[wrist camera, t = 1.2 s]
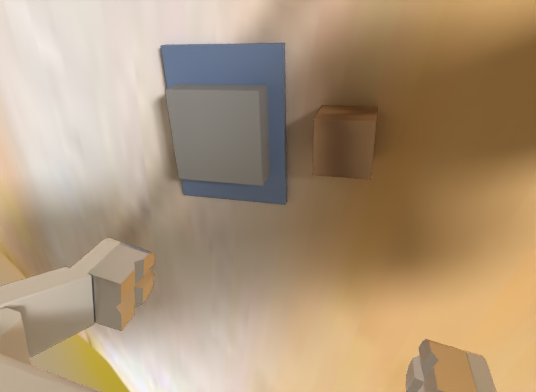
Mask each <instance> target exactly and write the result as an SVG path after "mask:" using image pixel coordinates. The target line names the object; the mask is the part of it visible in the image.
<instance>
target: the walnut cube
mask: <svg viewBox="0 0 536 392" xmlns="http://www.w3.org/2000/svg"><path fill="white" fill-rule="evenodd" d="M376 124H377V107H360V106H321V108H320V110H319V112H318V113H317V115H316V117H315V118H314V137H313V175H318V176H332V177H345V178H359V179H371V175H372V164H373V154H374V144H375V134H376Z"/></svg>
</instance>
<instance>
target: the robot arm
mask: <svg viewBox="0 0 536 392" xmlns="http://www.w3.org/2000/svg"><path fill="white" fill-rule="evenodd" d="M154 263H155V254H153V253H152V252H150V251H147V250H144V249H141V248H138V247H135V246H132V245H130V244H127V243H122V242H120V241H117V240H114V239H111V238H106V239H104V240H102V241H101V242H100V243H99V244H98V245H97V246H95V247H94V248H93V249H92V250H91V251H90V252H88V253H87V254H86V255H85V256H84V257H83V258H81V259H80V260H79V261H78V262H77V263H76V264H74V265H73V266H72V267H71V268H68V267H63V268H60V269H56V270H53V271H49V272H46V273H43V274H39V275H36V276H32V277H29V278H26V279H22V280H19V281H16V282H12V283H9V284H6V285H2V286H0V392H101V391H99V390H96V389H93V388H90V387H88V386H85V385H83V384H80V383H77V382H75V381H72V380H69V379H67V378H64V377H61V376H59V375H56V374H53V373H51V372H48V371H45V370H42V369H40V368H37V367H35V366H32V365H31V360H30V358H31V357H33V356H35V355H37V354H39V353H40V352H42V351H44V350H46V349H48V348H50V347H52V346H54V345H56V344H58V343H60V342H61V341H63V340H65V339H67V338H69V337H71V336H73V335H75V334H77V333H79V332H80V331H82V330H84V329H86V328H88V327H90V326H92V325H94V322H95V323H98V324H101V325H104V326H107V327H110V328H114V329H117V330H120V331H122V330H123V328H124V327H125V326H126V325H127V323H128V322H129V321H130V320H131V318H132V317H133V316H134V313H135V307H136V306H139V305H141V304H143V303H144V301H145V300H146V299H147V297H148V295H149V293H150V291H151V289H152V286H153V282H154V273H153V272H152V270H151V267H152V266H153V265H154ZM406 392H497V391H496V388H495V385H494V382H493V379H492V376H491V373H490V370H489V368H488V365H487V362H486V359H485V358H484V357H483V356H481V355H478V354H475V353H471V352H468V351H465V350H461V349H457V348H454V347H451V346H448V345H444V344H441V343H438V342H435V341H431V340H428V339H425V340H424V341H422V343H421V344H420V346H419V356H417V357H415V358H412V360H411V362H410V364H409V366H408V370H407V374H406Z"/></svg>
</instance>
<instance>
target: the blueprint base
mask: <svg viewBox="0 0 536 392" xmlns="http://www.w3.org/2000/svg"><path fill="white" fill-rule="evenodd" d="M161 52H162V58H163V65H164V71H165V77H166V84H167V89H165V94H166V100H167V107H168V113H169V119H170V126H171V132H172V138H173V145H174V151H175V157H176V164H177V170H178V176H179V179H181V181H182V187H183V193H184V195H190V196H201V197H211V198H221V199H232V200H242V201H253V202H263V203H273V204H284V205H285V204H286V202H287V168H286V99H285V43H253V44H188V45H161Z"/></svg>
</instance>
